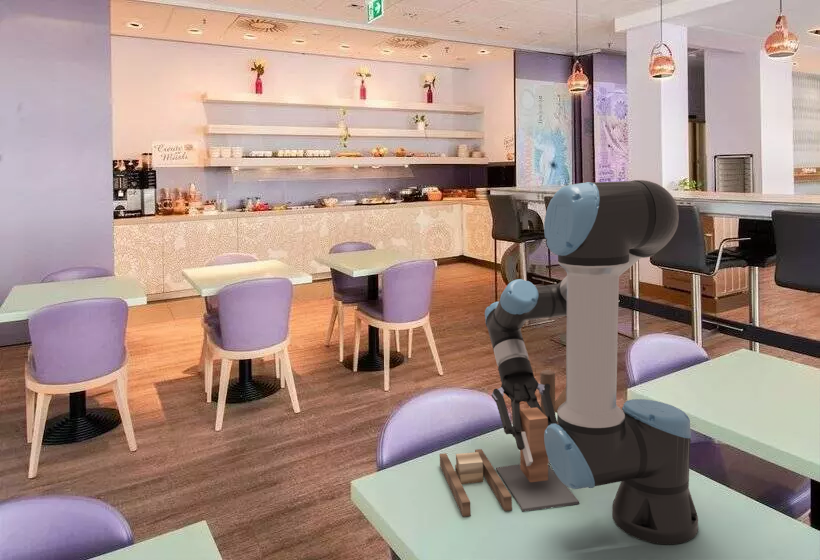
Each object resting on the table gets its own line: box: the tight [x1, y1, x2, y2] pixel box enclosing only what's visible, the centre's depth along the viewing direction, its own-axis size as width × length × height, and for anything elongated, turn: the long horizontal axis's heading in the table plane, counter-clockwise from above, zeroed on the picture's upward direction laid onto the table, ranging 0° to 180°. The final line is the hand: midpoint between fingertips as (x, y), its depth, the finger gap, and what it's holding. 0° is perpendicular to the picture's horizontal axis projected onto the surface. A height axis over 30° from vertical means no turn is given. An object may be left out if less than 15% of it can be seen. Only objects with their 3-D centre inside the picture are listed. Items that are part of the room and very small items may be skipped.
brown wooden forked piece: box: [539, 369, 566, 416], centre depth 150 cm, size 4×11×18 cm, turn 113°
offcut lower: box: [454, 464, 484, 485], centre depth 132 cm, size 5×5×2 cm
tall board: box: [519, 407, 549, 482], centre depth 126 cm, size 6×4×14 cm, turn 9°
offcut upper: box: [455, 451, 483, 475], centre depth 132 cm, size 5×5×2 cm
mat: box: [495, 463, 580, 512], centre depth 128 cm, size 18×12×1 cm, turn 9°
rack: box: [439, 448, 513, 517], centre depth 128 cm, size 22×10×3 cm, turn 9°
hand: (540, 462), depth 123 cm, fingers closed on tall board, 4 cm apart
